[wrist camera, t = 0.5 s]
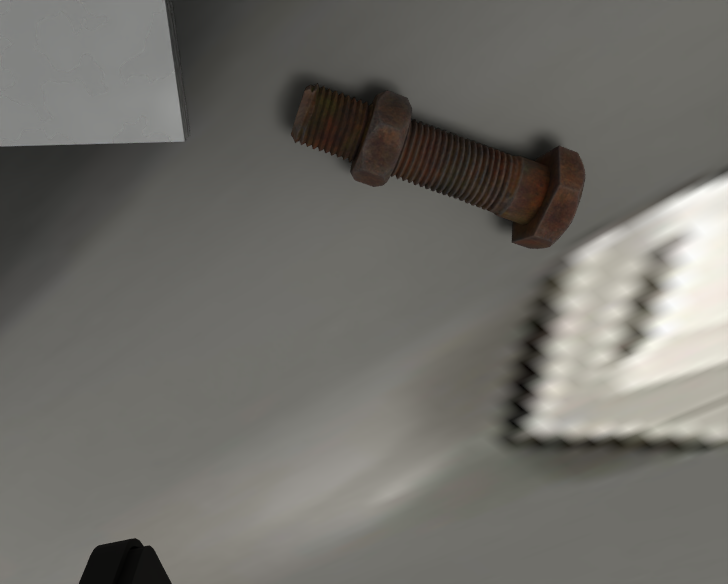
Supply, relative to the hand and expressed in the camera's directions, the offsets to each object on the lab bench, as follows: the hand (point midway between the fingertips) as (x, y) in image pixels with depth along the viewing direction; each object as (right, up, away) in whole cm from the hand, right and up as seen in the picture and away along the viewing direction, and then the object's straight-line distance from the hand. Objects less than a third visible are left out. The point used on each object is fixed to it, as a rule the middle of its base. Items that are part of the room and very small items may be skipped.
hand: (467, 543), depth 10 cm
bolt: (+2, +12, +27) cm, 30 cm away
